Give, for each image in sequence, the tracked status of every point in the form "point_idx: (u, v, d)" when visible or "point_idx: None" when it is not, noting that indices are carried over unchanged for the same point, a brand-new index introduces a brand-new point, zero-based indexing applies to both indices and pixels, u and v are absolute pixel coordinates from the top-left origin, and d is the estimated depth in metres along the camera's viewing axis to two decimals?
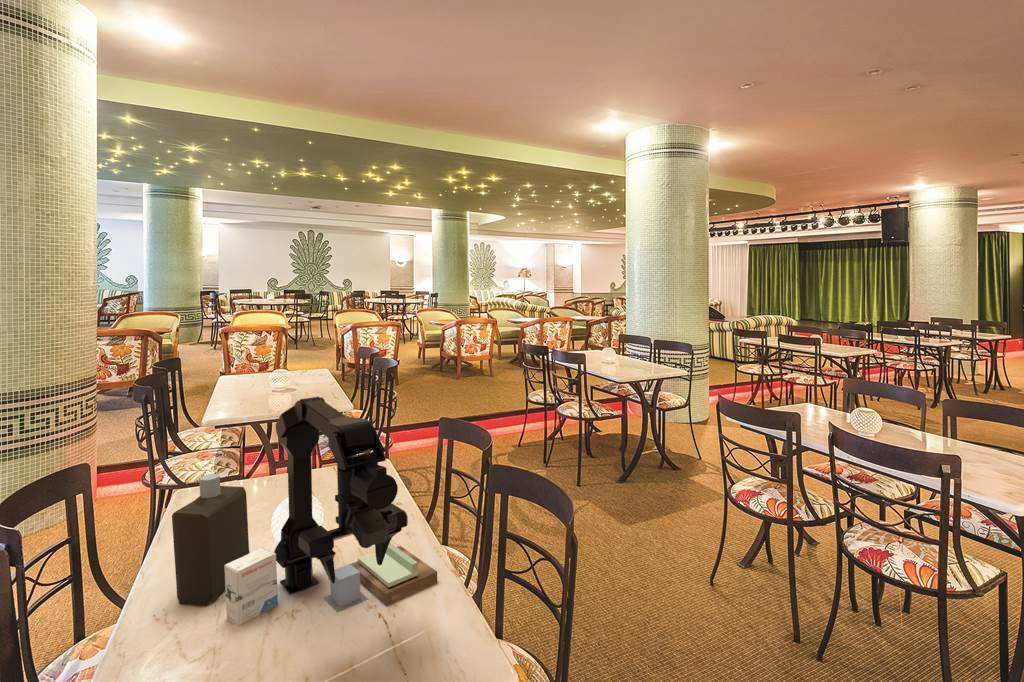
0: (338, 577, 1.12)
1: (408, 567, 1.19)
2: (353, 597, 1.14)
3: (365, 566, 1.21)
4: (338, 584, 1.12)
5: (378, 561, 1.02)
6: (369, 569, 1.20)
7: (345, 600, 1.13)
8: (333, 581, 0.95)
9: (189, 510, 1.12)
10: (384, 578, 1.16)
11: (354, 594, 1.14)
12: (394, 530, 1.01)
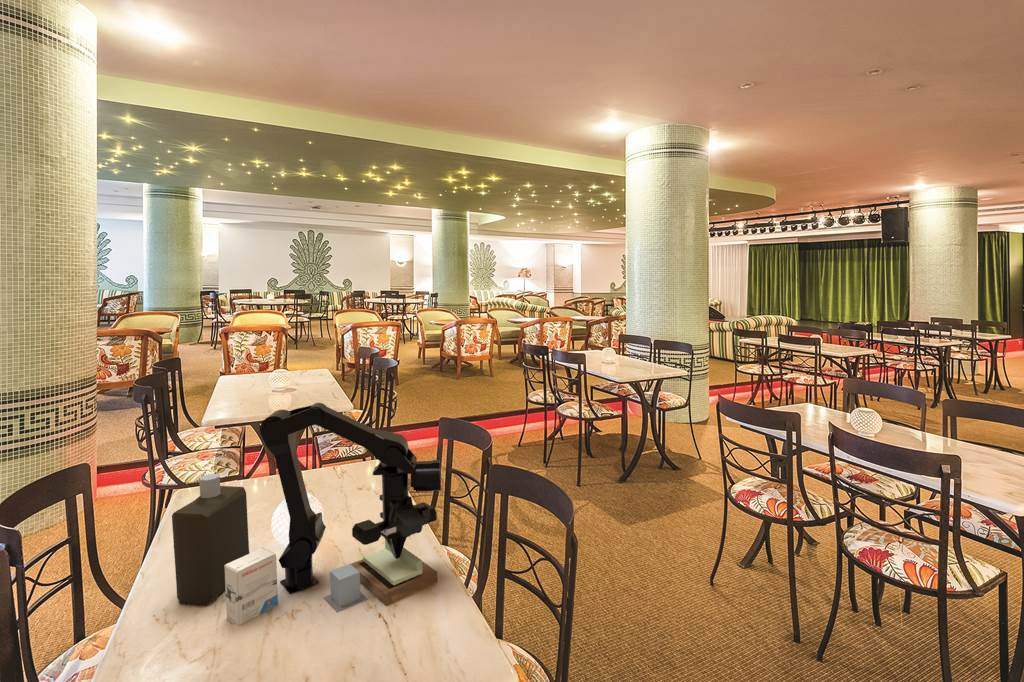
0: (338, 577, 1.12)
1: (412, 565, 1.20)
2: (353, 597, 1.14)
3: (370, 564, 1.22)
4: (338, 584, 1.12)
5: None
6: (374, 567, 1.21)
7: (345, 600, 1.13)
8: (397, 557, 1.22)
9: (189, 510, 1.12)
10: (389, 576, 1.17)
11: (354, 594, 1.14)
12: None
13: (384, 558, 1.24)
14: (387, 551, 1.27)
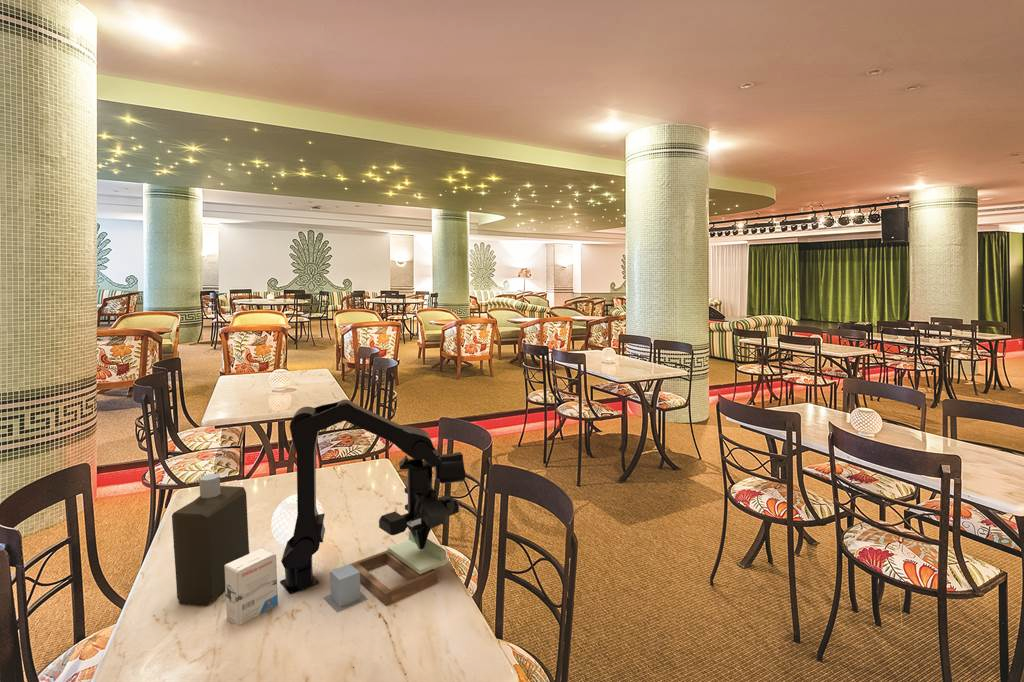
0: (338, 577, 1.12)
1: (437, 555, 1.24)
2: (353, 597, 1.14)
3: (395, 554, 1.27)
4: (338, 584, 1.12)
5: None
6: (399, 557, 1.25)
7: (345, 600, 1.13)
8: (421, 548, 1.26)
9: (189, 510, 1.12)
10: (415, 565, 1.21)
11: (354, 594, 1.14)
12: None
13: (409, 549, 1.28)
14: (411, 542, 1.31)
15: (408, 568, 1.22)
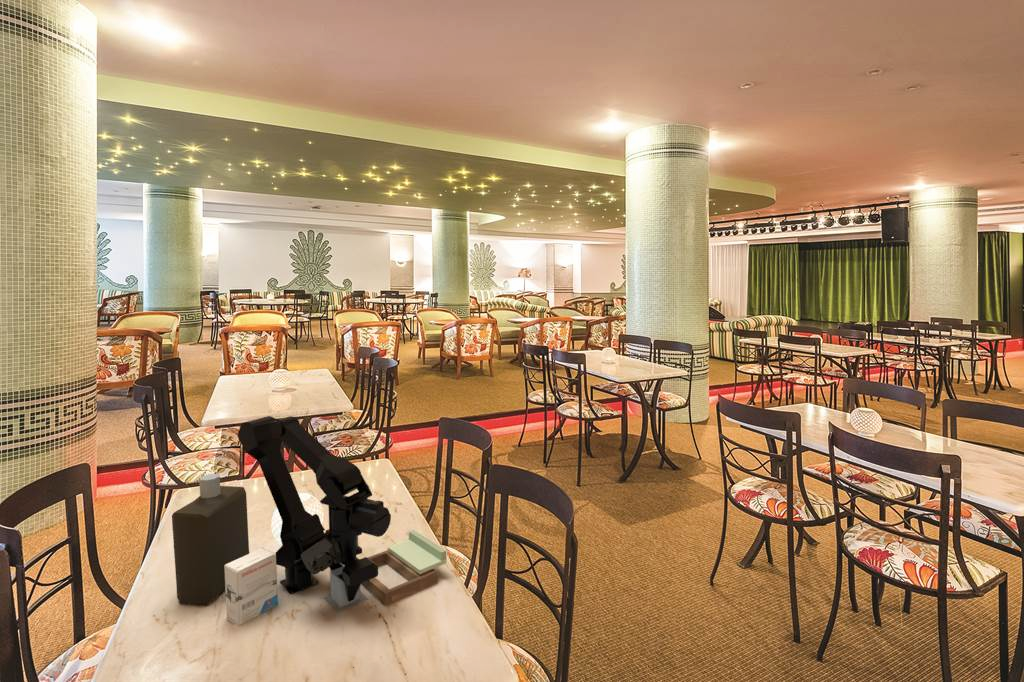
0: (338, 577, 1.12)
1: (437, 555, 1.24)
2: None
3: (395, 554, 1.27)
4: (338, 584, 1.12)
5: None
6: (399, 557, 1.25)
7: (345, 600, 1.13)
8: None
9: (189, 510, 1.12)
10: (415, 565, 1.21)
11: None
12: (343, 577, 1.09)
13: (409, 549, 1.28)
14: (411, 542, 1.31)
15: (408, 568, 1.22)
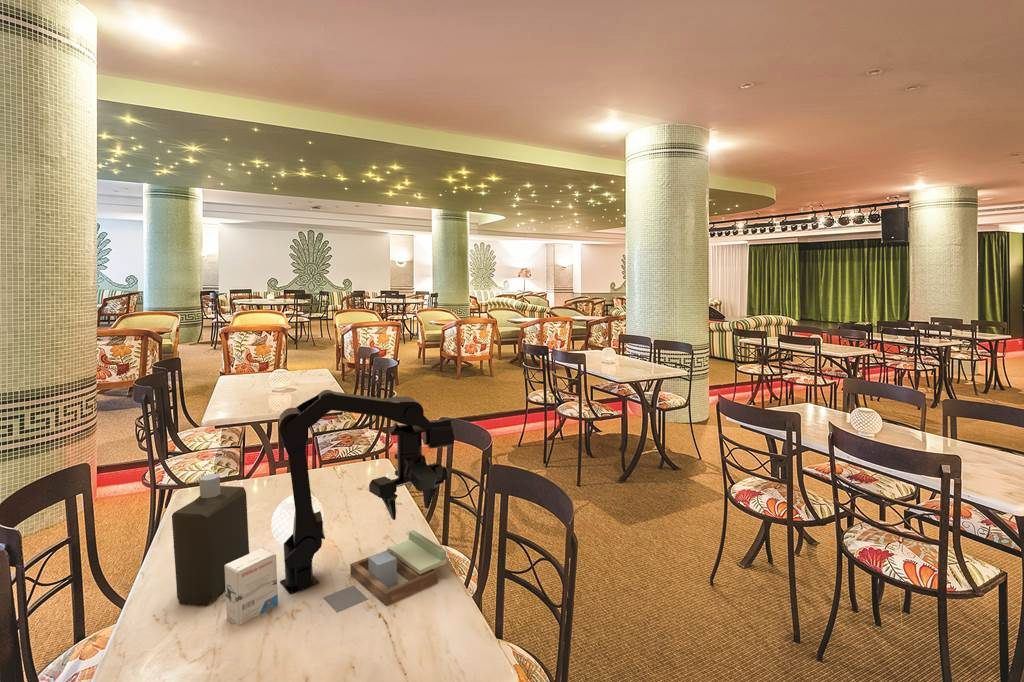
0: (377, 563, 1.18)
1: (437, 555, 1.24)
2: (390, 582, 1.20)
3: (395, 554, 1.27)
4: (377, 569, 1.18)
5: (426, 506, 1.33)
6: (399, 557, 1.25)
7: None
8: (394, 518, 1.26)
9: (189, 510, 1.12)
10: (415, 565, 1.21)
11: (392, 579, 1.20)
12: (438, 482, 1.32)
13: (409, 549, 1.28)
14: (411, 542, 1.31)
15: (408, 568, 1.22)
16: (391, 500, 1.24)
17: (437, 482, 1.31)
